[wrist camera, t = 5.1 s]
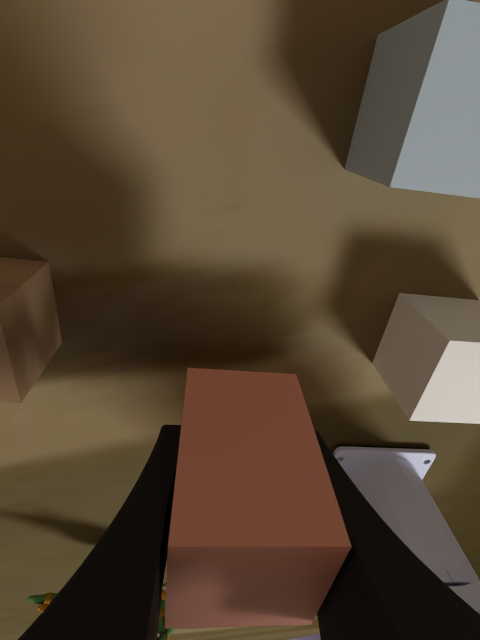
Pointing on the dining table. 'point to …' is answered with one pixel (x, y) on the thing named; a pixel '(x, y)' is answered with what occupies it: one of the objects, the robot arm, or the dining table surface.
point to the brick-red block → (250, 506)
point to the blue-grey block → (423, 104)
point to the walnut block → (25, 325)
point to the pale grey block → (433, 358)
